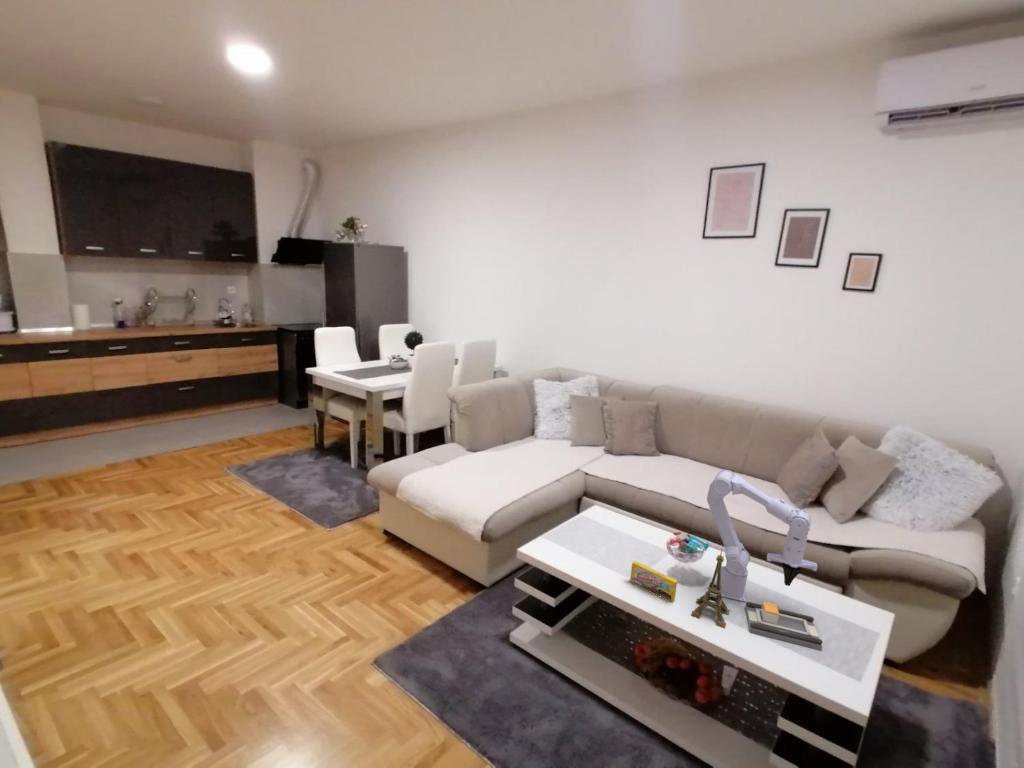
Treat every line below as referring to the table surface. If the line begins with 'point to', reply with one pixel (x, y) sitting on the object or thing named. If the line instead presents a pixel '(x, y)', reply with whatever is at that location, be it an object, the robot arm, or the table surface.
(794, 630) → the panel
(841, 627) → the table surface
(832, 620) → the table surface
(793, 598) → the table surface
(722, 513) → the robot arm
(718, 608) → the eiffel tower
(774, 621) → the orange-faced white block
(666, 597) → the candy box
